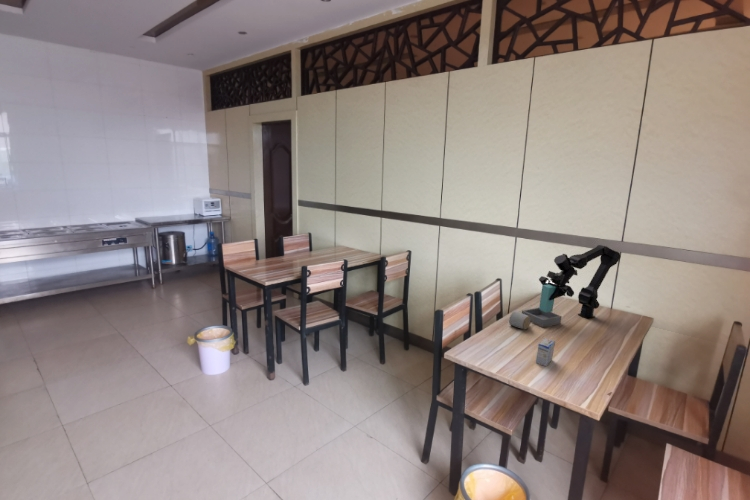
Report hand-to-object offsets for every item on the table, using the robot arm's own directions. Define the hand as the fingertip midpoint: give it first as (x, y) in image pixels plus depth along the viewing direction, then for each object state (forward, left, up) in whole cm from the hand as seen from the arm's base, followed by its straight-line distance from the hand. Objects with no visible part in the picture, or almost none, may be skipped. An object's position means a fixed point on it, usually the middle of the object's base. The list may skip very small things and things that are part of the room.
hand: (545, 298), depth 200 cm
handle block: (-1, 0, -7) cm, 7 cm away
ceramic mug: (+14, -1, -14) cm, 20 cm away
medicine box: (+33, +29, -14) cm, 46 cm away
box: (-2, -3, -13) cm, 14 cm away
